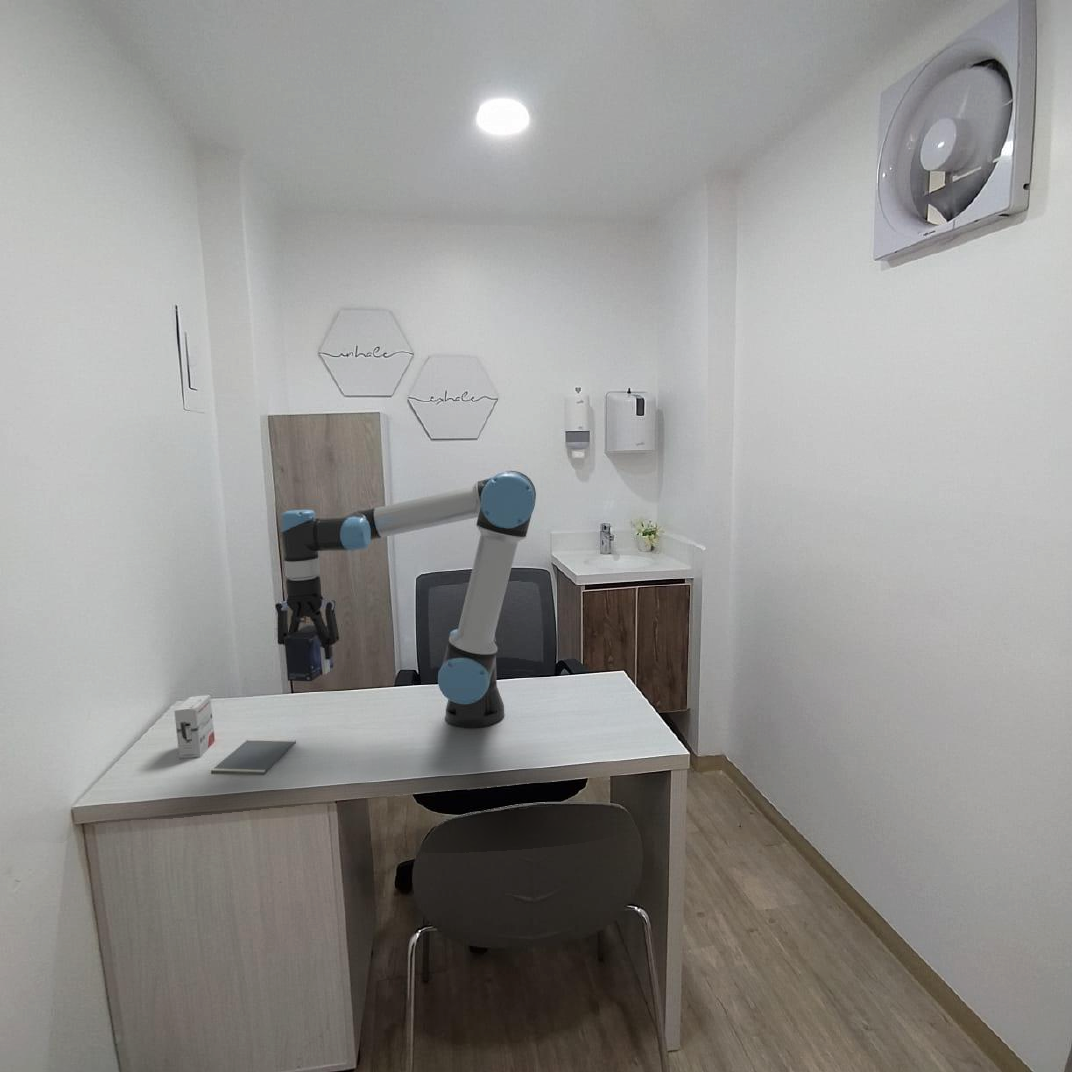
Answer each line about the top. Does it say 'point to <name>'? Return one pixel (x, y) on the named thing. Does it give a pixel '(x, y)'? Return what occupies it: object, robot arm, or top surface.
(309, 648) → the small box
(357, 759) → the top surface
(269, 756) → the mat
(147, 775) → the top surface
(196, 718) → the ink box
